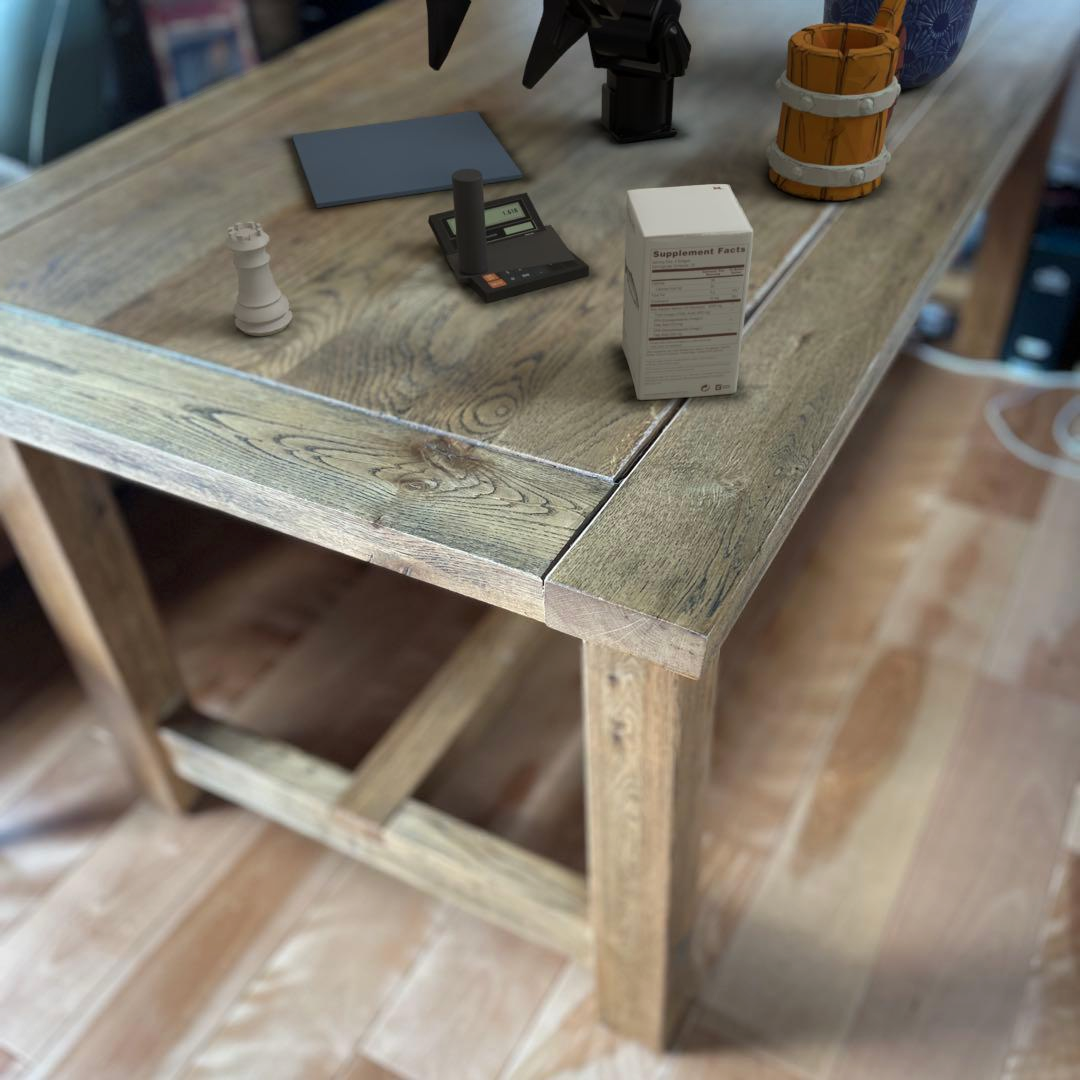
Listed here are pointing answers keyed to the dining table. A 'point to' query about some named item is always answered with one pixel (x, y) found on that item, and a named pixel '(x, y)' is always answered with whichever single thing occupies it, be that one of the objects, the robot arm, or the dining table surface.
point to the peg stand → (497, 256)
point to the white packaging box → (685, 290)
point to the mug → (838, 106)
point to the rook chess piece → (256, 283)
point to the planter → (916, 32)
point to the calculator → (504, 224)
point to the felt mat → (399, 158)
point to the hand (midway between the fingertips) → (478, 77)
